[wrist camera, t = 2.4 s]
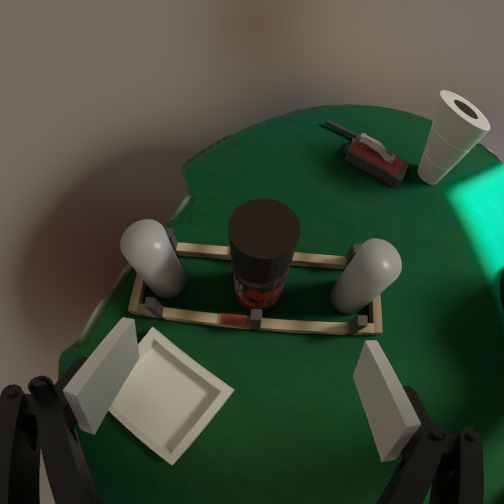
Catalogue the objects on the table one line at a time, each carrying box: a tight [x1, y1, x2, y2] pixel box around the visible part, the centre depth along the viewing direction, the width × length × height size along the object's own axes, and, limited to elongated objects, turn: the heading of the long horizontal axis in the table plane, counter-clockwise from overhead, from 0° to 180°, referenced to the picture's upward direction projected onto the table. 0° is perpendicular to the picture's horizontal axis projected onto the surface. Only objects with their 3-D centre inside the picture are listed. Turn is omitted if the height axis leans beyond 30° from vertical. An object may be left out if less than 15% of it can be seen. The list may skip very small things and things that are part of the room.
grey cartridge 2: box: [330, 239, 402, 315], centre depth 31 cm, size 5×5×11 cm
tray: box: [109, 327, 235, 465], centre depth 29 cm, size 12×12×2 cm
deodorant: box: [228, 198, 300, 312], centre depth 30 cm, size 6×6×15 cm
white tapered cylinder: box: [418, 90, 490, 185], centre depth 40 cm, size 11×11×18 cm
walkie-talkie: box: [325, 120, 412, 188], centre depth 48 cm, size 9×4×20 cm
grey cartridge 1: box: [120, 219, 186, 299], centre depth 32 cm, size 5×5×11 cm
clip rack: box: [128, 228, 382, 335], centre depth 34 cm, size 32×10×5 cm, turn 85°
